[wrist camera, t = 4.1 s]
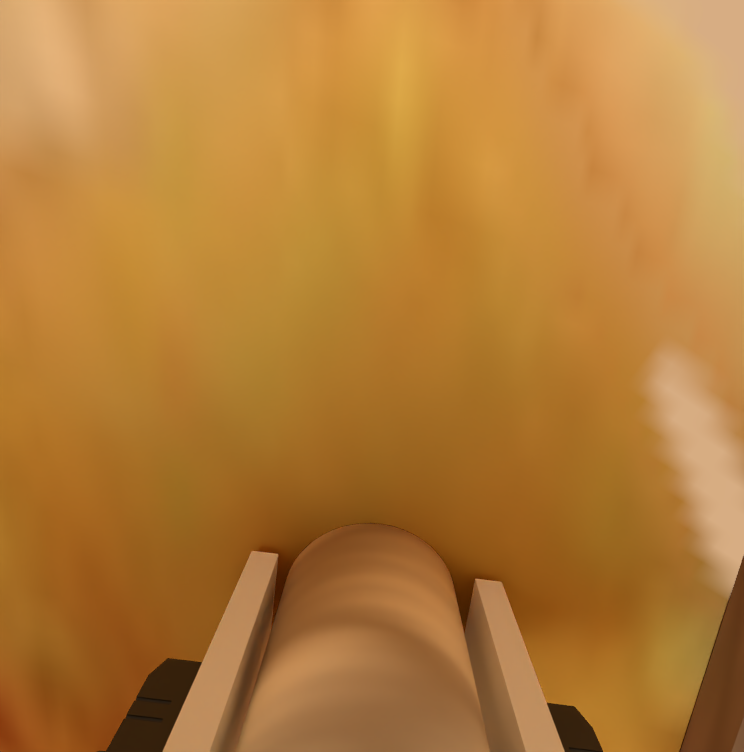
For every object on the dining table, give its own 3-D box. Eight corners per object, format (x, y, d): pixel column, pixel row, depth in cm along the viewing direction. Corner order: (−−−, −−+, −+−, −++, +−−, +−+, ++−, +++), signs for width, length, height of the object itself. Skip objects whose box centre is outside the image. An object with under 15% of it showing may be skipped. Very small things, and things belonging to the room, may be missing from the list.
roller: (276, 663, 15) (139, 1191, 7) (291, 512, 14) (151, 911, 6) (440, 683, 16) (516, 1233, 7) (468, 535, 14) (603, 964, 6)
